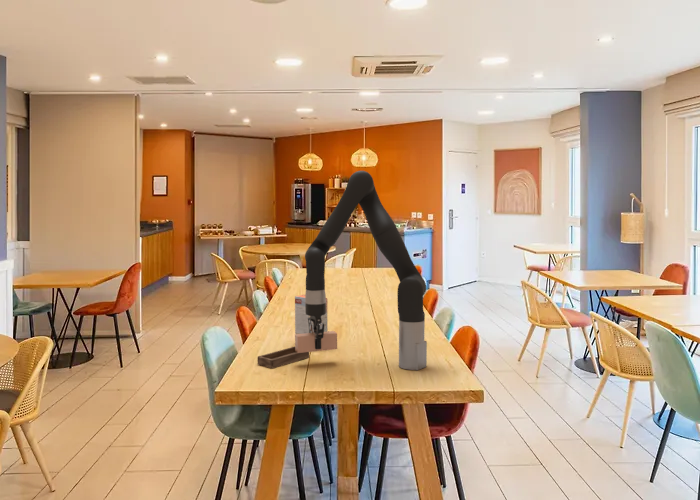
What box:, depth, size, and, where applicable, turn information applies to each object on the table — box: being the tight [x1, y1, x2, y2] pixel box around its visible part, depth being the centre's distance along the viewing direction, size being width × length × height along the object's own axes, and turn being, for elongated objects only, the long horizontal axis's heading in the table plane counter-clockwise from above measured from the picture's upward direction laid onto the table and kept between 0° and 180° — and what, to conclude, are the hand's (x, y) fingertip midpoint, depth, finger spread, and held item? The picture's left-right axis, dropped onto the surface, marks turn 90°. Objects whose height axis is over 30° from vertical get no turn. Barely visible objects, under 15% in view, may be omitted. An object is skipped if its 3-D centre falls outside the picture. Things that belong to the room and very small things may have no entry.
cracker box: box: [294, 294, 328, 335], centre depth 239 cm, size 14×6×21 cm, turn 47°
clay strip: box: [294, 330, 338, 353], centre depth 214 cm, size 15×4×6 cm, turn 109°
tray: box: [257, 345, 310, 369], centre depth 219 cm, size 8×19×3 cm, turn 140°
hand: (316, 347), depth 214 cm, fingers closed on clay strip, 4 cm apart
